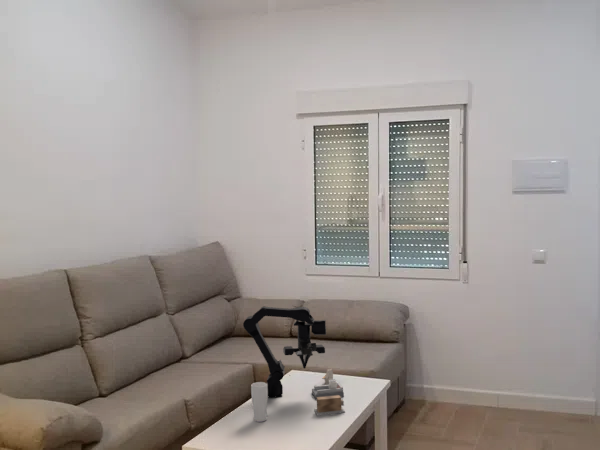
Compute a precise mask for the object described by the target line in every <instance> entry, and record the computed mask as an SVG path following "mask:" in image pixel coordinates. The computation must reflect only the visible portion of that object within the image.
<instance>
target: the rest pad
mask: <svg viewBox="0 0 600 450" xmlns="http://www.w3.org/2000/svg"><path fill="white" fill-rule="evenodd" d="M314 412H315V413H316V416H323V415H324V416H325V415H333V414H344V413H345V414H346V411H345V409H344V408H343V406H341V410H339V411H329V412H318V411H317V408H314Z"/></svg>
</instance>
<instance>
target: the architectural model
mask: <svg viewBox="0 0 600 450" xmlns="http://www.w3.org/2000/svg"><path fill="white" fill-rule="evenodd" d="M321 379H322V380H324V385H329V380H332V379H334V369H333V367H332V368H327V369H326V373H325V374H324V376H322V377H321Z"/></svg>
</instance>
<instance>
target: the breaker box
mask: <svg viewBox="0 0 600 450" xmlns="http://www.w3.org/2000/svg"><path fill="white" fill-rule="evenodd" d="M311 394H312V396H313V397H314V399H315V400H317V397H325V396H336V395H339V396H340V397H341V398H344V396H345V395H344V394H345V393H344V386H342V384H341V383H340V382H337V388H335V389H329V385H325V384H323V385H321V384H320V385H314V386H313V388H311Z"/></svg>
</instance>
